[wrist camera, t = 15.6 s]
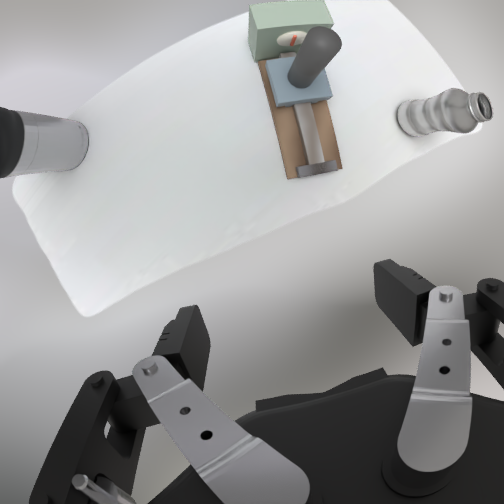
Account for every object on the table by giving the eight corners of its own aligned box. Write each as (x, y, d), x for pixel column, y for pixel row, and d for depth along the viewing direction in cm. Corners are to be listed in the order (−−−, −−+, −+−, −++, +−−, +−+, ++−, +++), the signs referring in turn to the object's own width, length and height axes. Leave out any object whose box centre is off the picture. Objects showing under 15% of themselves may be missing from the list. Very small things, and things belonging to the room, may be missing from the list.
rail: (287, 178, 42) (290, 179, 40) (257, 63, 37) (258, 56, 34) (340, 168, 42) (346, 168, 39) (311, 56, 36) (315, 49, 33)
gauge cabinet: (255, 65, 37) (259, 33, 25) (248, 41, 35) (249, 5, 24) (314, 58, 36) (335, 27, 25) (306, 34, 35) (323, -1, 23)
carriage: (275, 109, 37) (294, 73, 21) (264, 69, 35) (275, 16, 19) (325, 101, 37) (370, 68, 21) (314, 62, 35) (349, 14, 19)
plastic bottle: (410, 97, 38) (484, 75, 19) (427, 129, 40) (504, 123, 21) (386, 110, 39) (461, 87, 20) (405, 143, 41) (484, 139, 21)
